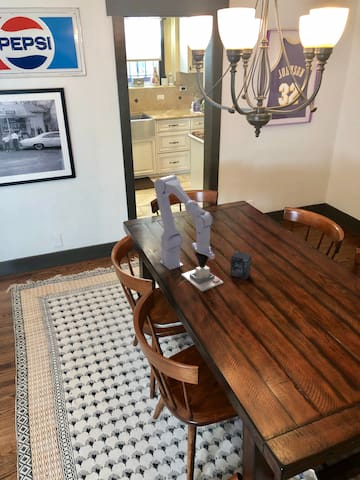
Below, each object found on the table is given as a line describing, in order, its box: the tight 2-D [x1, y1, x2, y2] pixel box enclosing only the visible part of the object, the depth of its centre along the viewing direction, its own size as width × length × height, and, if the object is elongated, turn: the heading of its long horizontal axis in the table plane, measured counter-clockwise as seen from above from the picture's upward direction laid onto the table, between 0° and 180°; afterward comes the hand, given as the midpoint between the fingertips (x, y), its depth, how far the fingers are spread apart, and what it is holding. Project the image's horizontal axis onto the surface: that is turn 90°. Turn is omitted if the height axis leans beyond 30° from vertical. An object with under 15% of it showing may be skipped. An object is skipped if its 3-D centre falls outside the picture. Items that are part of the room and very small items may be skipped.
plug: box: [195, 264, 211, 279], centre depth 168 cm, size 4×5×5 cm
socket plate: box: [181, 268, 224, 292], centre depth 169 cm, size 16×12×2 cm
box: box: [229, 251, 252, 280], centre depth 170 cm, size 8×6×11 cm
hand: (202, 266), depth 166 cm, fingers closed
